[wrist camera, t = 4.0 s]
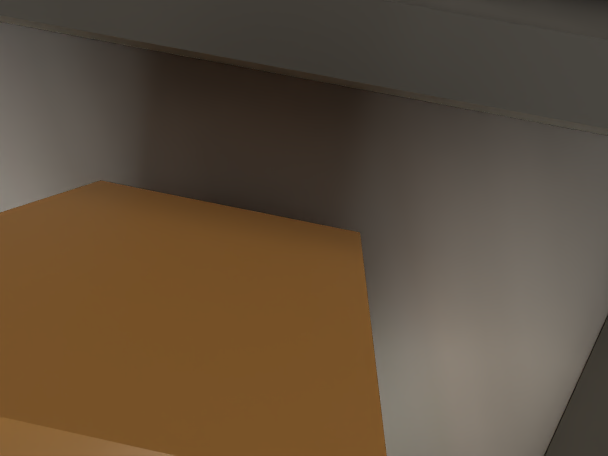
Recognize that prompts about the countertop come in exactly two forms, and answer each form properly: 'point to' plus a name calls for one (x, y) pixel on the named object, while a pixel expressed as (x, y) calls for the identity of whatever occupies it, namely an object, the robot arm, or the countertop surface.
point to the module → (181, 331)
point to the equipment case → (382, 82)
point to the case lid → (533, 13)
